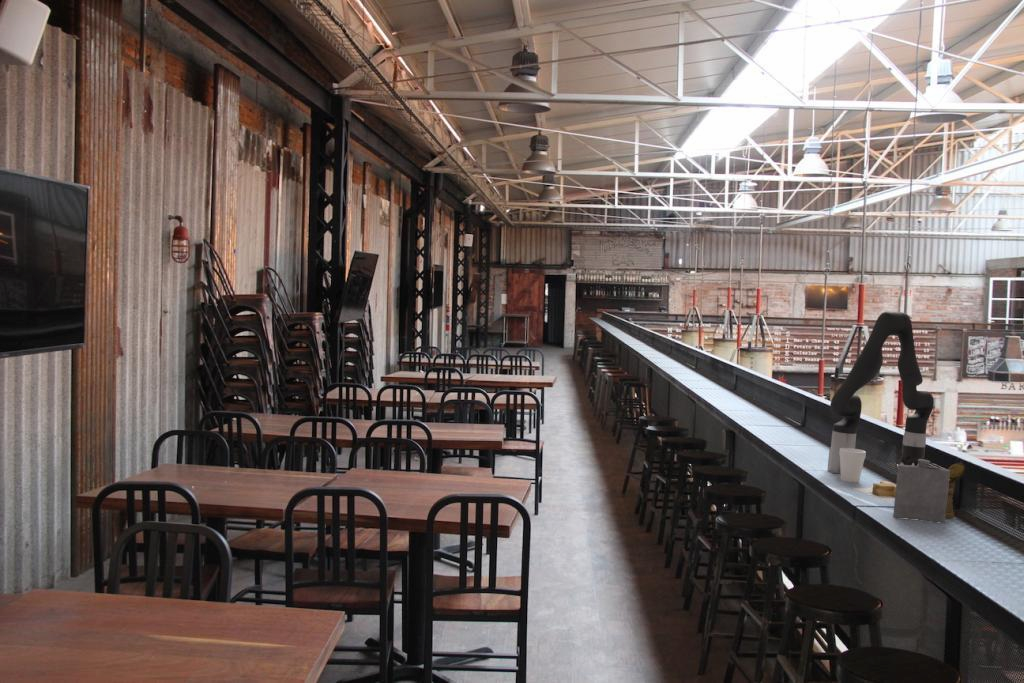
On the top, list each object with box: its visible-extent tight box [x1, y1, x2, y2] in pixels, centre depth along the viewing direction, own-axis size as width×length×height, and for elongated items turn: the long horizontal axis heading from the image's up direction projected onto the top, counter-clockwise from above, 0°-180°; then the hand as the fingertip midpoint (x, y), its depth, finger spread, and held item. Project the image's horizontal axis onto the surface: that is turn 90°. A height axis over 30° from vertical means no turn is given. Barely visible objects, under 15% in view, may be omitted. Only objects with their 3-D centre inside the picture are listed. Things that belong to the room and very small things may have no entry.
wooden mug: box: [945, 462, 966, 519], centre depth 272 cm, size 9×14×18 cm, turn 114°
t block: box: [872, 480, 896, 496], centre depth 293 cm, size 10×9×4 cm
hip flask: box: [892, 458, 950, 524], centre depth 263 cm, size 16×4×20 cm, turn 80°
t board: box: [851, 487, 895, 502], centre depth 293 cm, size 18×18×1 cm
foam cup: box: [839, 448, 867, 483], centre depth 313 cm, size 10×9×13 cm
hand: (909, 490), depth 296 cm, fingers closed
